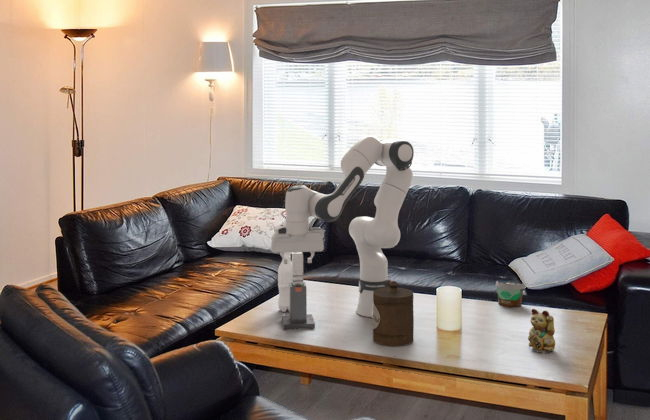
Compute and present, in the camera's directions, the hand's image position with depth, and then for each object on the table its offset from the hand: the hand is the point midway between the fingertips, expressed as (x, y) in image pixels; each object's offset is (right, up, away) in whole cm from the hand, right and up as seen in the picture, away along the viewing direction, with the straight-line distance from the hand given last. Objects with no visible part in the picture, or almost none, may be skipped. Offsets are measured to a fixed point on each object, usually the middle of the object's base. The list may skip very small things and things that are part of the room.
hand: (297, 263), depth 305 cm
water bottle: (-5, -21, +22) cm, 31 cm away
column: (0, -16, +3) cm, 16 cm away
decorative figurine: (+87, -29, -26) cm, 95 cm away
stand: (0, -24, +4) cm, 24 cm away
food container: (+88, -20, +28) cm, 94 cm away
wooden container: (+35, -27, -15) cm, 47 cm away
